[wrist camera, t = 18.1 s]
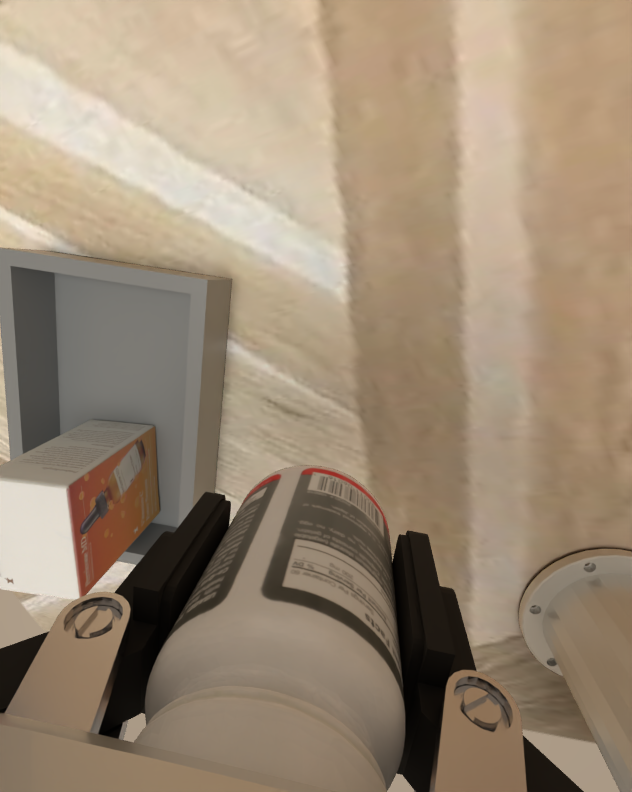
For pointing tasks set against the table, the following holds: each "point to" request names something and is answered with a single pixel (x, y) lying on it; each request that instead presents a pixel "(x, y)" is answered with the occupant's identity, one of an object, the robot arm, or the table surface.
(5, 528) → the small box
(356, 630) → the pill bottle
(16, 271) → the tote
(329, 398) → the table surface
